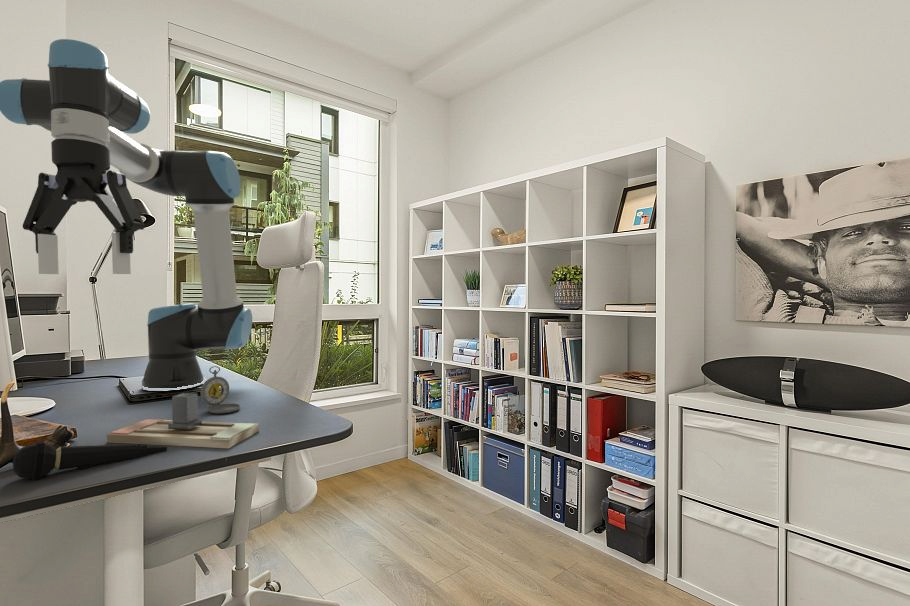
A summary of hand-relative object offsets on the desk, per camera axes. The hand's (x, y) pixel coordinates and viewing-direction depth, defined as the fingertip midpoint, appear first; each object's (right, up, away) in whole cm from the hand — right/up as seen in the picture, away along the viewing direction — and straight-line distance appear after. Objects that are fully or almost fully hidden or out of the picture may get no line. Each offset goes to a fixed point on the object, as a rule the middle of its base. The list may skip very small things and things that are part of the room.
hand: (84, 274), depth 79 cm
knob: (+10, -28, +13) cm, 32 cm away
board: (+10, -30, +13) cm, 34 cm away
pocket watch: (+7, -30, +32) cm, 44 cm away
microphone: (+3, -31, -2) cm, 31 cm away
